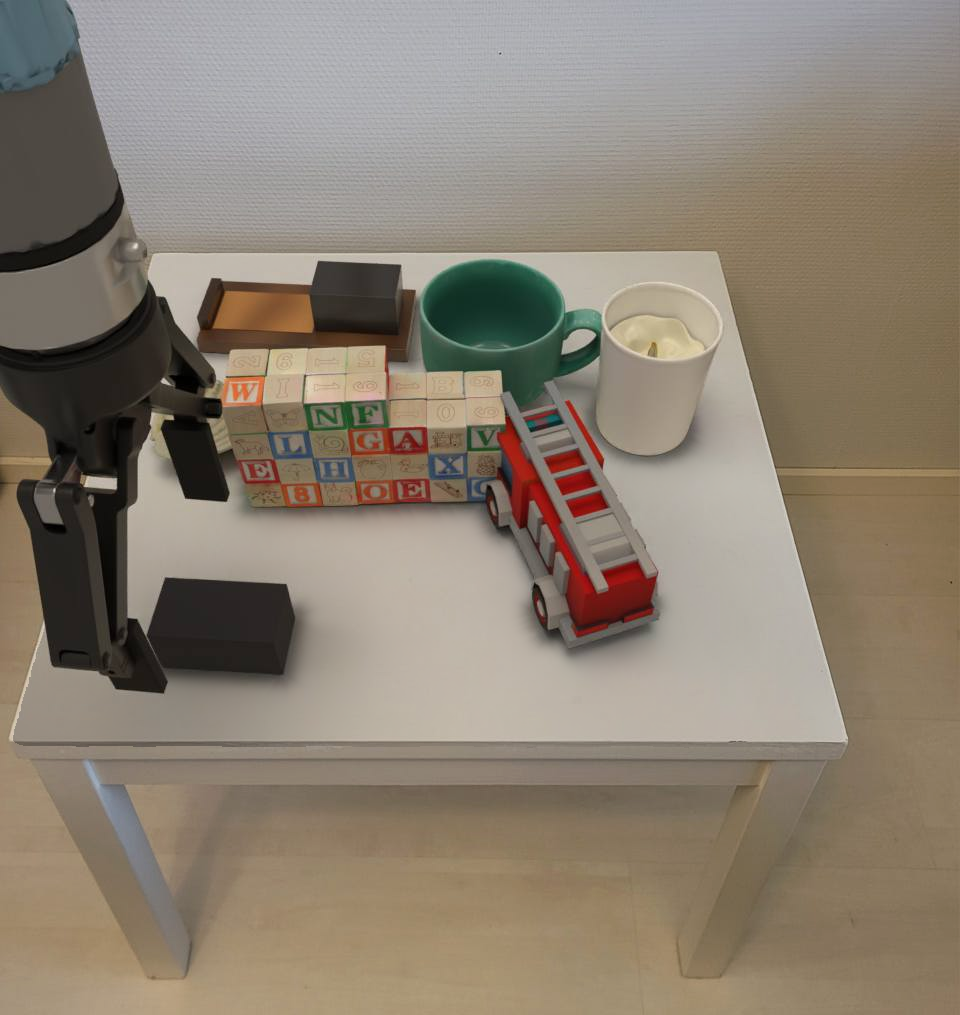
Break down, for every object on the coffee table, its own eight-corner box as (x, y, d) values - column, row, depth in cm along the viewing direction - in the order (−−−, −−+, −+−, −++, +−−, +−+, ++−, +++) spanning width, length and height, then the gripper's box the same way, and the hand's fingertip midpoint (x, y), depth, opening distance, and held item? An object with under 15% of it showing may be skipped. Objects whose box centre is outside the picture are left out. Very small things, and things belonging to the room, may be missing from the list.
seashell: (127, 411, 84) (190, 345, 84) (201, 467, 89) (261, 406, 88) (132, 446, 77) (201, 375, 77) (213, 505, 82) (278, 439, 82)
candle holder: (647, 370, 91) (668, 266, 82) (719, 433, 86) (749, 330, 77) (565, 411, 88) (577, 308, 78) (635, 479, 83) (656, 377, 73)
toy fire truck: (569, 457, 84) (579, 373, 76) (667, 631, 73) (689, 553, 65) (473, 483, 82) (473, 400, 74) (558, 666, 71) (568, 591, 63)
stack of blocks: (500, 447, 85) (504, 340, 75) (504, 502, 81) (508, 397, 71) (256, 453, 84) (228, 346, 75) (248, 508, 80) (217, 404, 71)
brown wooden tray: (199, 352, 92) (185, 302, 88) (220, 292, 98) (208, 242, 93) (407, 362, 92) (403, 312, 87) (416, 301, 97) (414, 251, 93)
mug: (408, 420, 87) (403, 340, 79) (438, 330, 95) (436, 249, 87) (591, 446, 85) (603, 367, 78) (606, 352, 93) (618, 272, 85)
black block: (161, 667, 71) (145, 635, 67) (179, 610, 74) (164, 576, 70) (283, 674, 71) (273, 643, 67) (295, 616, 74) (286, 583, 70)
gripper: (38, 543, 33) (179, 790, 49) (224, 147, 48) (284, 435, 65) (-175, 525, 33) (36, 777, 50) (78, 137, 49) (175, 427, 65)
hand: (177, 584), depth 57 cm, fingers open, 13 cm apart
